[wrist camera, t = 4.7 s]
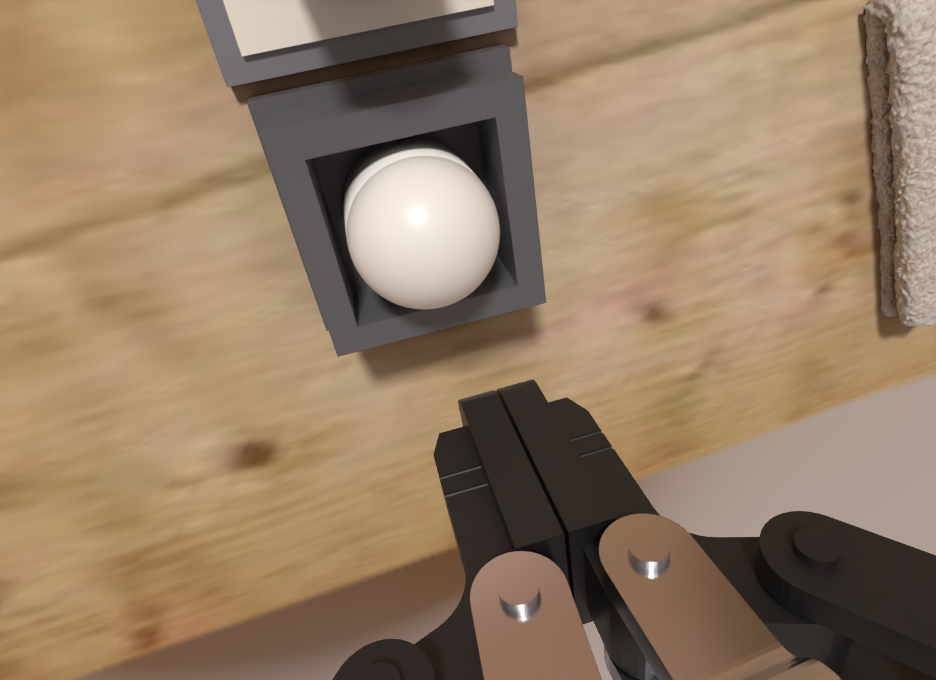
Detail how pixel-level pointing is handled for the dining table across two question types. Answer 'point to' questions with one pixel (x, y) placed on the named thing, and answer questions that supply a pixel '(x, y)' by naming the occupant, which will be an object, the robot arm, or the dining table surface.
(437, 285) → the dome
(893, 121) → the washcloth
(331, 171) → the button base
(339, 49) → the game board
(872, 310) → the dining table surface
